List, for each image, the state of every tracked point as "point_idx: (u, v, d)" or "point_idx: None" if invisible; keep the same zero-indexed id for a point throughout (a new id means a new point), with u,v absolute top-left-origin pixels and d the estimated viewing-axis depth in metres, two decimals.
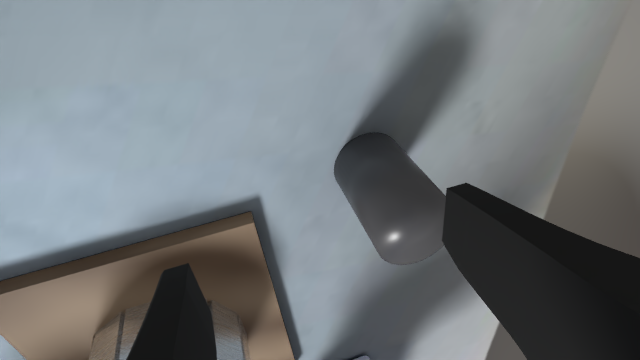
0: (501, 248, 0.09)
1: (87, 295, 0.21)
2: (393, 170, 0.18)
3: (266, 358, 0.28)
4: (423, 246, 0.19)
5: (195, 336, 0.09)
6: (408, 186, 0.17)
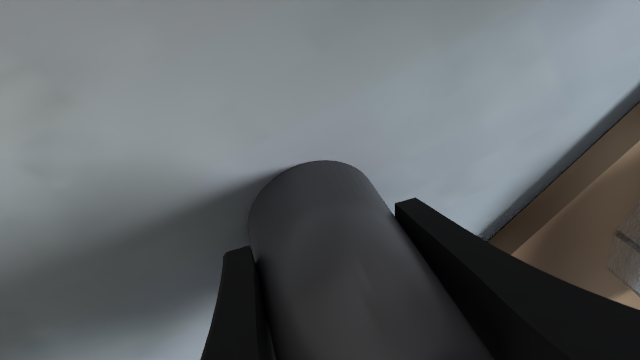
0: (441, 267, 0.09)
1: None
2: None
3: None
4: None
5: (263, 314, 0.09)
6: None
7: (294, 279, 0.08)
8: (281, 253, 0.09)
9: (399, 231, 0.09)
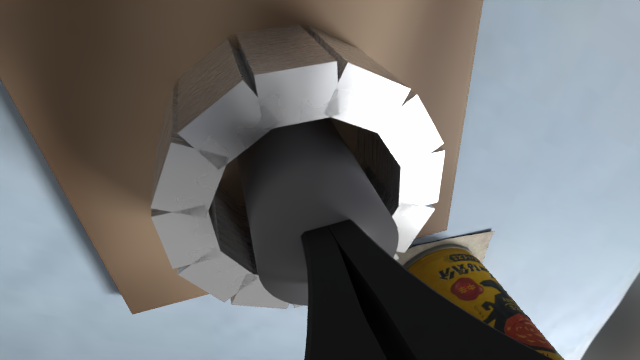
0: (361, 293, 0.09)
1: (135, 229, 0.16)
2: None
3: None
4: None
5: None
6: None
7: (258, 174, 0.12)
8: (252, 162, 0.12)
9: (336, 142, 0.13)
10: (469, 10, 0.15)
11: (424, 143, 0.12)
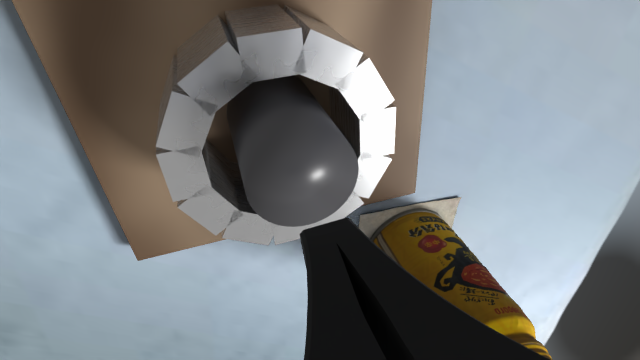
0: (360, 294, 0.09)
1: (141, 181, 0.18)
2: None
3: None
4: (312, 151, 0.13)
5: None
6: None
7: (244, 121, 0.14)
8: (239, 114, 0.15)
9: (308, 96, 0.15)
10: None
11: (378, 100, 0.15)
